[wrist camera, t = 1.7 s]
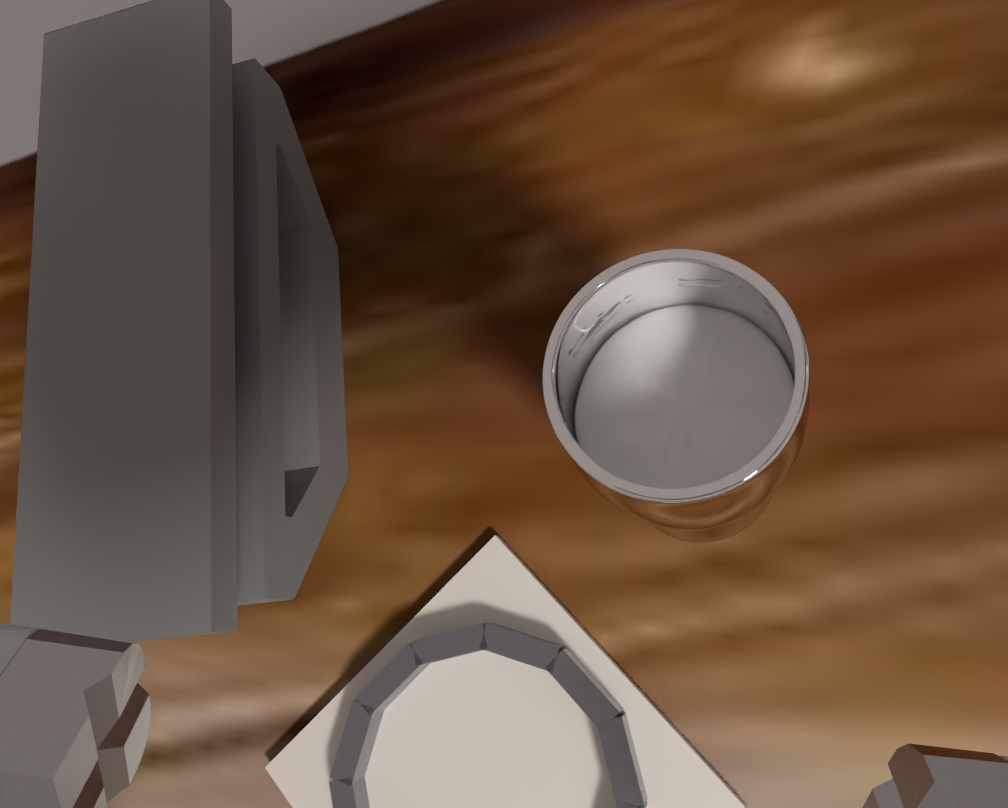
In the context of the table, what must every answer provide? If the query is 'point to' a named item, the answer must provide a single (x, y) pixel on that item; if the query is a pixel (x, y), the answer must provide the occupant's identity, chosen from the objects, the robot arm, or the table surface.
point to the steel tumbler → (680, 390)
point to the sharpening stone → (172, 337)
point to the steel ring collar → (505, 642)
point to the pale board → (497, 717)
